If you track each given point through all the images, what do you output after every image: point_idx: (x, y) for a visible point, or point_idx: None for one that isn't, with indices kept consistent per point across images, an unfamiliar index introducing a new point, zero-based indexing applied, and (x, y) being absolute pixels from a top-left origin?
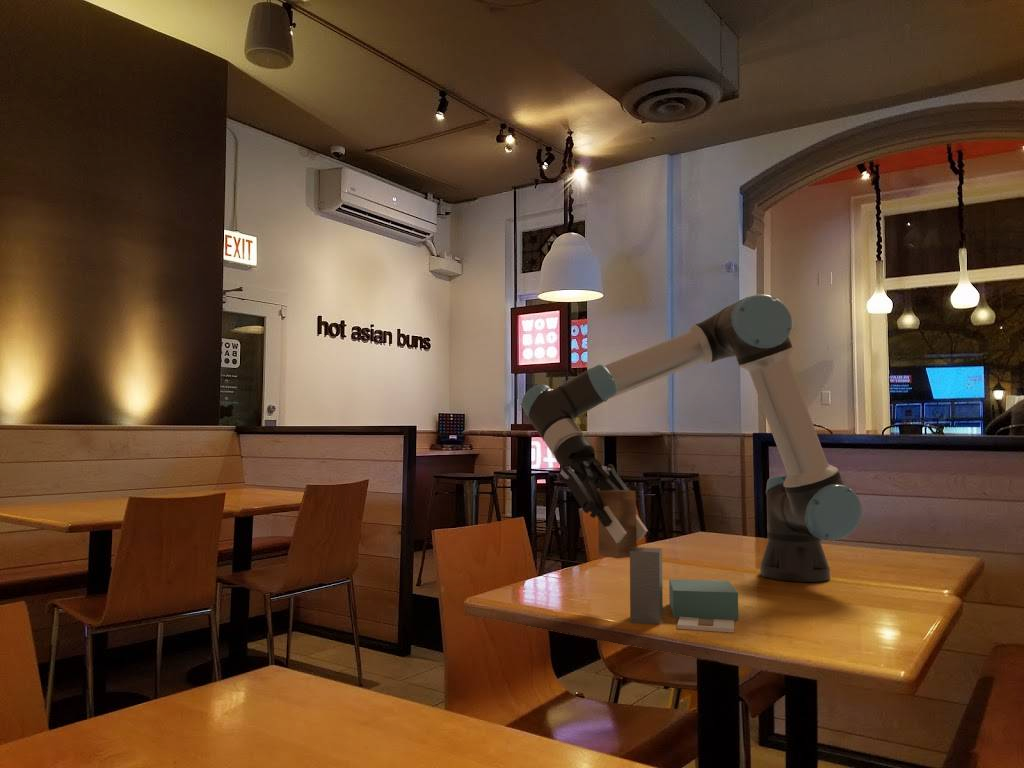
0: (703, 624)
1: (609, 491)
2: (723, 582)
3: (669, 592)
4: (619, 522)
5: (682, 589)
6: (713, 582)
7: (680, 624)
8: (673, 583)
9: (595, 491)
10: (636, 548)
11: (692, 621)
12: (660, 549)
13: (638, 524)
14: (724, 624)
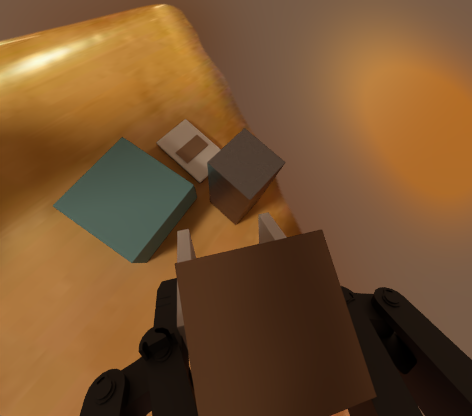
0: (204, 140)
1: (331, 307)
2: (73, 198)
3: (141, 260)
4: (272, 235)
5: (176, 185)
6: (88, 206)
7: None
8: (154, 227)
9: (388, 395)
10: (254, 183)
11: (202, 158)
12: (218, 154)
13: (191, 252)
14: (180, 135)
